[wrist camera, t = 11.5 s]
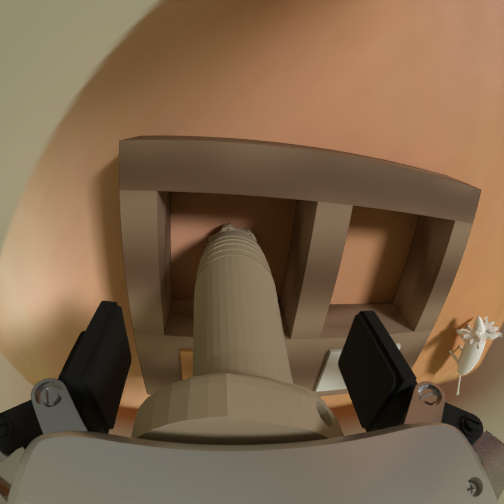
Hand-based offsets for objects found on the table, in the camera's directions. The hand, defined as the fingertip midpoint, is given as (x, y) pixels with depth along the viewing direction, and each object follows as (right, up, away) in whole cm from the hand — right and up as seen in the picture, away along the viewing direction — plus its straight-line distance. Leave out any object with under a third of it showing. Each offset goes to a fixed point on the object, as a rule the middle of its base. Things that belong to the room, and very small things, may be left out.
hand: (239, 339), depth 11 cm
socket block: (+4, +2, +10) cm, 11 cm away
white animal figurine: (+25, -8, +16) cm, 31 cm away
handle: (-1, +4, +9) cm, 10 cm away
